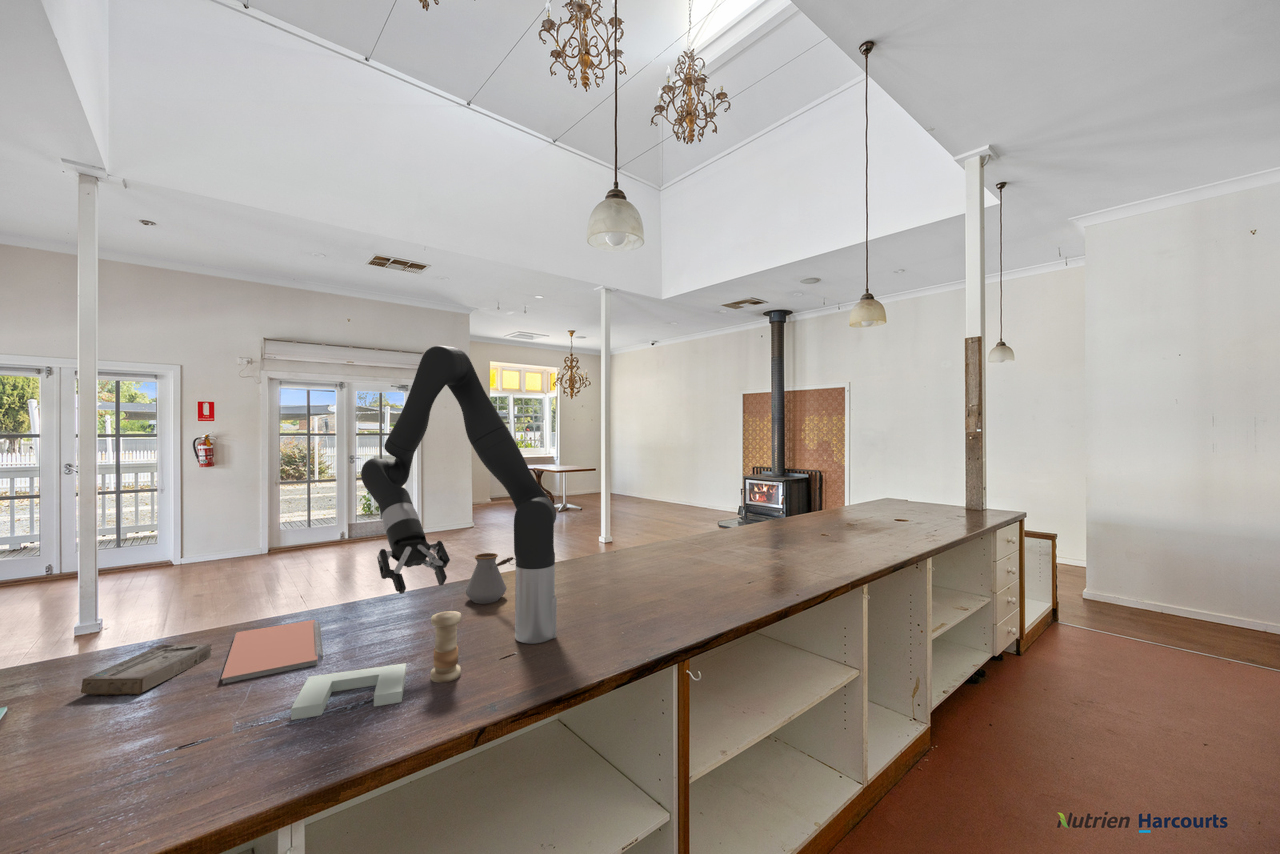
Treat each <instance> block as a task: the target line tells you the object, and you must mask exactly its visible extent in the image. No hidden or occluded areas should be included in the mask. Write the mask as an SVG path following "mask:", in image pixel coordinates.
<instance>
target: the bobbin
mask: <svg viewBox="0 0 1280 854" xmlns="http://www.w3.org/2000/svg"><path fill="white" fill-rule="evenodd" d="M460 622H462V613H461V612H459V611H454V610H447V611H445V610H444V611H441V612H437V613H434V614H433V615H432V616H431V621H430V623H431V624H430V625H431V626H433V627H434V628H435V641H434V645H435V646H434V648H433V668H432V669H431V671H430V680H431V681H432V682H434V683H439V684H441V683H442V684H443V683H449V682H453V681H454V680H458V678H459V677H461V674H462V673H461V672H462V671H461V669H462V668H461V666H460V664H459V646H458V645H457V642H458V639H457V636H458V633H457V632H458V631H457V630H458V624H460Z"/></svg>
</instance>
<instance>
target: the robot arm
mask: <svg viewBox="0 0 1280 854" xmlns="http://www.w3.org/2000/svg"><path fill="white" fill-rule="evenodd" d="M445 386H447V387H448V388H449V390H450V391H451V393H452V395H453V396H454V398H455V400H456V401H457V402H458V405H459V406H460V409H461V412H462V416H463V423H464V427H465V428H464V429H465V434H466V436H467V439H468V441H469V443H470V445H471V446H472V448H473V450H474V451H475V453H476V455H477V457H478V459H480V461H481V462H482V464H483V465H484V466H485V468H486V469H487V470H488V471H489V472H490V474H491V475H492V476H493V477H495V478H496V479H497V480H498V482H499V483H500V484H501V485H502V486H503V487H504V489H505V490H506V491H507V493H508V495H509V497H510V499H511V500H512V503H513V505H514V507H515V509H516V510H515V513H514V516H513V552H514V556H515V557H514V558H515V559H516V560H515V600H514V603H515V604H514V605H515V607H514V608H515V610H514V612H515V613H514V616H515V617H514V618H515V619H514V621H515V623H514V625H515V626H514V634H515V635H514V639H515V640H516V641H517V642H520V643H522V644H541V643H545V642H548V641H550V640H552V639H556V638H557V607H558V606H557V602H558V601H557V597H556V595H555V593H556V591H555V589H556V588H555V586H556V583H555V578H556V577H555V576H556V573H555V572H556V570H555V569H556V568H555V567H556V564H555V563H556V553H555V547H554V546H555V545H554V544H555V543H554V540H555V537H554V536H555V534H554V531H555V530H554V527H555V526H554V525H555V522H556V520H557V511H556V507H555V505H554V502H553V501H552V500H551V499H550V498H549V496H548V495H547V494H546V492H545V491H544V489H543V488H542V487H541V486H540V484H539V483H538V481H537V480H536V478H535V477H534V476H533V474H532V472H531V471H530V468H529V466H528V464H527V462H526V459H525V458H524V455H523V454H522V452H521V450H520V448H519V447H518V444H517V442H516V441H515V439H514V436H513V435H512V433H511V432H510V430H509V428H508V427H507V425H506V423H505V422H504V421H503V419H502V417H501V415H500V414H499V413H498V411H497V408H496V407H495V406H494V404H493V402H492V401H491V399H490V398H489V397H488V394H487V393H486V391H485V389H484V387H483V385H482V383H481V380H480V379H479V376H478V374H477V372H476V370H475V367H474V364H473V363H472V361H471V359H470V358H469V355H467V354H466V352H465V351H463V350H462V349H460V348H458V347H455V346H447V345H434V346H431V347H429V348H428V349H426V351H425V352H424V353H423V355H422V357H421V359H420V362H419V364H418V367H417V370H416V372H415V377H414V379H413V382H412V385H411V388H410V390H409V393H408V396H407V398H406V401H405V404H404V405H403V408H402V410H401V413H400V415H399V416H398V419H397V421H396V422H395V424H394V426H393V427H392V429H391V431H390V432H389V435H388V436H387V438H386V441H385V443H384V445H383V446H384V450H385V451H386V453H387V454H389V455H391V456H392V457H394V458H395V459H394V460H391V459H390V460H389V459H383V458H378V457H377V458H370V459H368V460H366V462H364V464H363V465H362V467H361V472H360V475H361V476H360V477H361V481H362V483H363V486H364V487H365V489H366V490H367V492H368V493H369V494H370V496H371V497H372V498H373V500H374V501H375V502H376V504H377V505H378V508H379V511H380V515H381V518H382V524H383V530H384V532H385V535H386V537H387V542H388V544H389V548H390V550H386V549H385V548H381V549H380V550H379V552H378V555H377V556H376V558H377V562H378V568H379V571H380V572H379V573H380V577H381V579H383V580H386V579H391V580H392V583H393V586H394V590H395V591H396V592H397V593H399V595H402V594H405V592H406V589H407V586H406V584H405V583H406V582H405V579H404V577H403V573H401V570H402V569H403V567H406V568H411V567H413V566H416V567H417V566H418V567H419V566H422V565H423V566H425V567H426V568H430V569H431V570H433V571H434V575H435V577H436V581H437V584H438V586H440V587H441V586H444V584H445V583H446V580H447V578H448V577H447V574H446V571H445V568H446V567H447V566H448V564H449V563H450V561H451V559H450V556H449V555H448V552H447V550H446V548H445V545H444V544H443V541H442V540H437V542H436V543H433V544H430V543H429V542H428V541H427V538H426V535H425V531H424V528H423V526H422V522H421V520H420V517H419V514H418V513H417V511H416V509H415V507H414V504H413V502H412V501H413V500H412V499H411V495H410V493H409V491H408V490H407V489H406V488H405V487H403V486H404V485H405V484H407V482H408V480H409V477H410V473H411V468H412V463H413V459H414V454H415V452H416V451H417V449H418V447H419V445H420V444H421V442H422V441H423V438H424V436H425V434H426V431H427V429H428V427H429V421H430V415H431V410H432V407H433V406H434V403H435V400H436V398H437V397H438V395H439V394H440V393H441V391H442V390H443V389H444V387H445ZM431 551H432V552H431ZM390 558H391V559H393V560H394V561H396V562H397V564H396V566H395V568H394V569H391V565H390V563H389V561H390Z"/></svg>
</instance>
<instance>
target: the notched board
mask: <svg viewBox="0 0 1280 854" xmlns="http://www.w3.org/2000/svg"><path fill="white" fill-rule="evenodd" d="M406 676H407V663H406V662H405V663H399V664H390V665H384V666H376V667H368V668H362V669H354V670H348V671H347V670H346V671H342V672H341V671H340V672H334V673H326V674H318V675H312V676H311V675H310V676H308V677H307V679H306V680H305V683H304V684H303V687H302V688H301V690H300V692H299V694H298V695H297V697H296V699H295V700H294V702H293V704H292V707H291V709H290V712H291V713H290V717H291V718H290V720H291V721H294V720H300V719H306V718H312V717H320V716H323V713H324V711H325V708H326V707H327V704H328V701H329V699H330V697H331V694H332V692H340V691H348V690H353V689H360V688H366V687H375V690H374V693H373V707H375V708H376V707H381V706H385V705H391V704H392V705H393V704H398V703H399V704H400V703H402V701H403V696H404V690H405V683H406Z"/></svg>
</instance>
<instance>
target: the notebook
mask: <svg viewBox="0 0 1280 854" xmlns="http://www.w3.org/2000/svg"><path fill="white" fill-rule="evenodd" d="M323 651H324V649H323V642H322V629H321V623H320V621H316V620H315V619H310V620H305V621H300V622H299V621H298V622H291V623H286V624H281V625H280V624H279V625H273V626H267V627H261V628H254V629H249V630H243V631H237V632H236V633H235V635H234V639H233V642H232V644H231V647H230V650H229V653H228V657H227V659H226V663H225V666H224V668H223V672H222V675H221V677H220V681H221V680H222V685H224V684H229V683H234V682H239V681H242V680H243V681H244V680H248V679H254V678H258V677H262V676H269V675H272V674H277V673H281V672H287V671H292V670H298V669H302V668H303V669H304V668H307V667H311V666H317V665H318V664H319V661H318V660H319V659H318V658H319V657H318V655H320V656H321V660H324V652H323Z"/></svg>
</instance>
